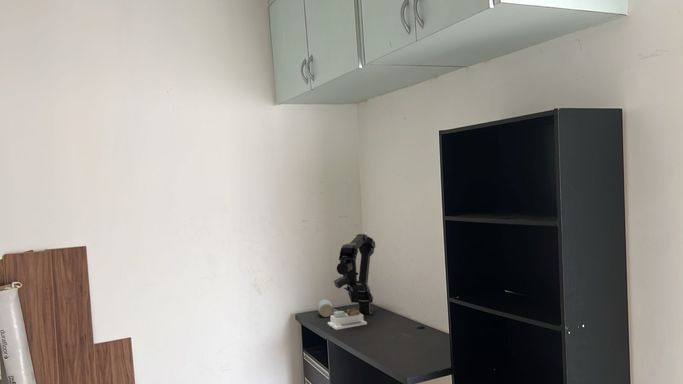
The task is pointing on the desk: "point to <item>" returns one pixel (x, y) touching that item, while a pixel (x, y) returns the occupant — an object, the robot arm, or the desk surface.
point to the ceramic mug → (325, 308)
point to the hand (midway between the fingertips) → (352, 302)
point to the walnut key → (353, 312)
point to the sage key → (339, 314)
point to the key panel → (346, 321)
